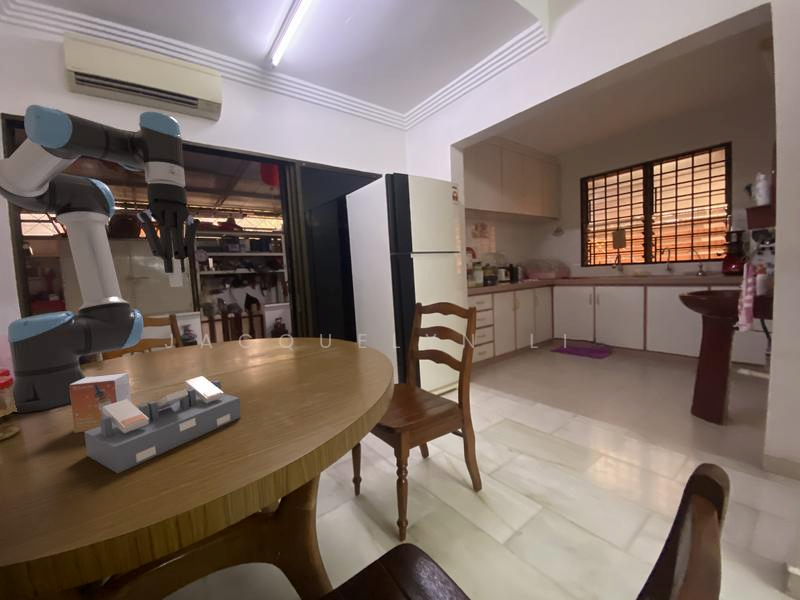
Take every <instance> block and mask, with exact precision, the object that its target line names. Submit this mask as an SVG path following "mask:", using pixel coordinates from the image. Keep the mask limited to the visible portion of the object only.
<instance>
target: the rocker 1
mask: <svg viewBox="0 0 800 600" xmlns="http://www.w3.org/2000/svg"><path fill="white" fill-rule="evenodd" d="M103 413H104V414H105V415H106V416H110V417H111V420H112V422H113V423H114V424H115V425H116V426H117V427H118V428H119V429H120V430H121V431H122V432H123V433H126V432H129V431H132V430H134V429H137V428H140V427H142V426H145V425H148V424H149V418H148V417H147V416H146V415H144V414H143V413H142V412H141V411H140V410H139V407H137V406H136V405H135V404H133V403H132V401H131V402H130V401H129V400H128V399H126V400H123V401H119V402H116V403H113V404H109V405H106V406H103Z"/></svg>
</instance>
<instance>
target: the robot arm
mask: <svg viewBox="0 0 800 600" xmlns="http://www.w3.org/2000/svg"><path fill="white" fill-rule="evenodd" d="M23 122H24V130H25V134H26V136H27V138H26V139H25V140H24V141H23V142H22V143H21V145H19V147H17V149H16V150H15V151H14V152H13V153H12V154H11V155H10V156H9V157H8V158H6V157H5V158H2V159H0V196H1V197H2V198H4V199H6V200H7V201H9V202H11V203H13V204H15V205H16V206H19V207H21V208H23V209H26V210H31V211H35V212H42V213H43V212H44V213H49V214H51V213H53V214H54V215H55V218H56V221H57V223H59V224H62V226H65V229H66V233H67V237H68V242H69V246H70V247H69V248H70V251H71V255H72V258H73V263H74V264H73V265H74V268H75V272H76V276H77V281H78V286H79V288H80V289H79V290H80V293H81V297H82V301H83V304H82V305H81V306H80V307H79V308H78V309H77V311H78V314H77V315H75V314H74V313H73V312H72V311H71V310H66V311H65V310H64V311H56V312H48V313H43V314H42V313H41V314H37V315H32V316H27V317H23V318H18V319H16V320H14V321H12V322H11V323H9V325H8V327H7V329H8V330H7V342H8V343H9V348H10V349H9V351H10V356H11V363H12V369H13V375H14V376H13V377H14V380H13V383H12V387H11V389H12V393H13V397H14V400H15V405H16V408H17V411H18V413H17V414H24V413H32V412H39V411H45V410H49V409H54V408H57V407H61V406H66V405H68V404H69V405H70V404H71V396H70V386H69V385H70V384H72V383H75V382H77V381H79V380H81V379H83V378H86V377H87V376H86V375H85V374H84V372H83V370H82V369H81V367H80V357H85V356H90V355H95V354H101V353H106V352H111V351H120V350H123V349H126V348H131V347H133V346H135V345H137V344H139V342H140V341H141V339H142V336H143V332H144V318H143V315H142V314H141V311H139V310H138V309H135V308H131V304H130V302H129V301H127V300H125V299H123V297H122V293H121V290H120V284H119V281H118V276H117V272H116V268H115V264H114V260H113V256H112V252H111V246H110V242H109V240H108V239H109V238H108V234H107V230H106V227H105V226H106V225H107V224H108V223H109V222H110V218H112V217H113V216H114V214H115V211H116V207H115V205H116V203H115V199H114V195H113V193H112V191H111V189H110V188H109V187H108V185H106V183H104V182H102V181H101V180H98V179H94V178H90V177H88V176H84V175H83V176H78V175H73V174H68V173H67V174H66V173H62V172H63V171H64V170H66V169H67V168H68V167H69V166H70V165H72V164H73V162H75V161H76V160H77V159H78V158H80V157H82V156H87V157H90V158H91V157H92V158H94V159H99V160H104V161H109V162H112V163H117V164H118V165H120V166H121V167H122V168H124V169H126V170H129V171H132V172H139V171H140V172H141V171H144V176H145V182H146V183H147V185H146V194H147V201H148V204H147V206H146V210H144V211H142V212H138V213H136V214H135V215H134V217H135V218H136V219H137V220H138V222H139V223H140V225H141V226H142V229H143V231H144V234H145V236H146V239H147V242H148V245H149V248H150V251H151V253H152V255H153V257H158V258H160V259H161V260H163V261H162V262H163V271H164V273H165V274H168V280H169V287H170V288H178V287H179V288H180V287H183V286H184V285H183V273H184V274H185V272H186V271H185V270H186V267H185V259H187V258H189V257H192V256H193V252H194V244H195V239H196V233H197V228H198V226H199V225H200V223H201V220H200V218H194V216H192V215H190V211H189V209H188V207H187V206H188V198H187V197H188V196H187V189H185V187H186V179H185V178H186V177H185V169H184V168H185V167H184V155H183V138H182V135H181V127H180V124H179V122H178V121H177V120H176V119H175V118H174V117H172V116H170V115H169V114H168V115H167V114H164V113H163V112H162V113H161V112H157V111H144V112H142V113H140V115H139V122H138V127H139V128H140V129H139V130H137V131H134V132H130V131H127V130H123V129H121V128H118V127H114V126H110V125H107V124H103V123H100V122H96V121H93V120H90V119H87V118H84V117H80V116H77V115H75V114H70V113H68V112H64V111H63V110H60V109H58V108H57V109H55V108H50V107H48V106H43V105H39V104H31V105H28V107H27V108H26V109H25V114H24V118H23ZM152 219H153V220H154V221H155V222H156V223H157V229H158V231H159V235H158V232H157V230H156V227H155V224H154V222H153V220H152ZM184 224H186V227H185V232H184V236H183V231H184Z"/></svg>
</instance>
